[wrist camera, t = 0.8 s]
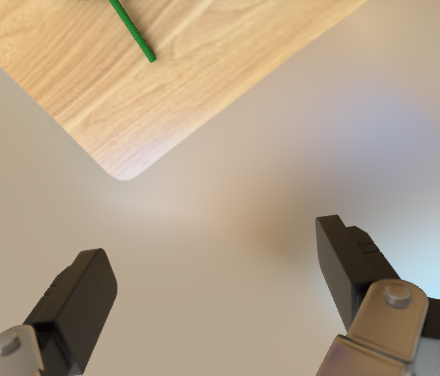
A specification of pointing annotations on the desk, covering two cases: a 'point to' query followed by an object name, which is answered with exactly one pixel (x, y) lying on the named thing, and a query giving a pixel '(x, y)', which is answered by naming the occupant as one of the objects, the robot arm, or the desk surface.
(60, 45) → the desk surface
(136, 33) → the decorative flower
